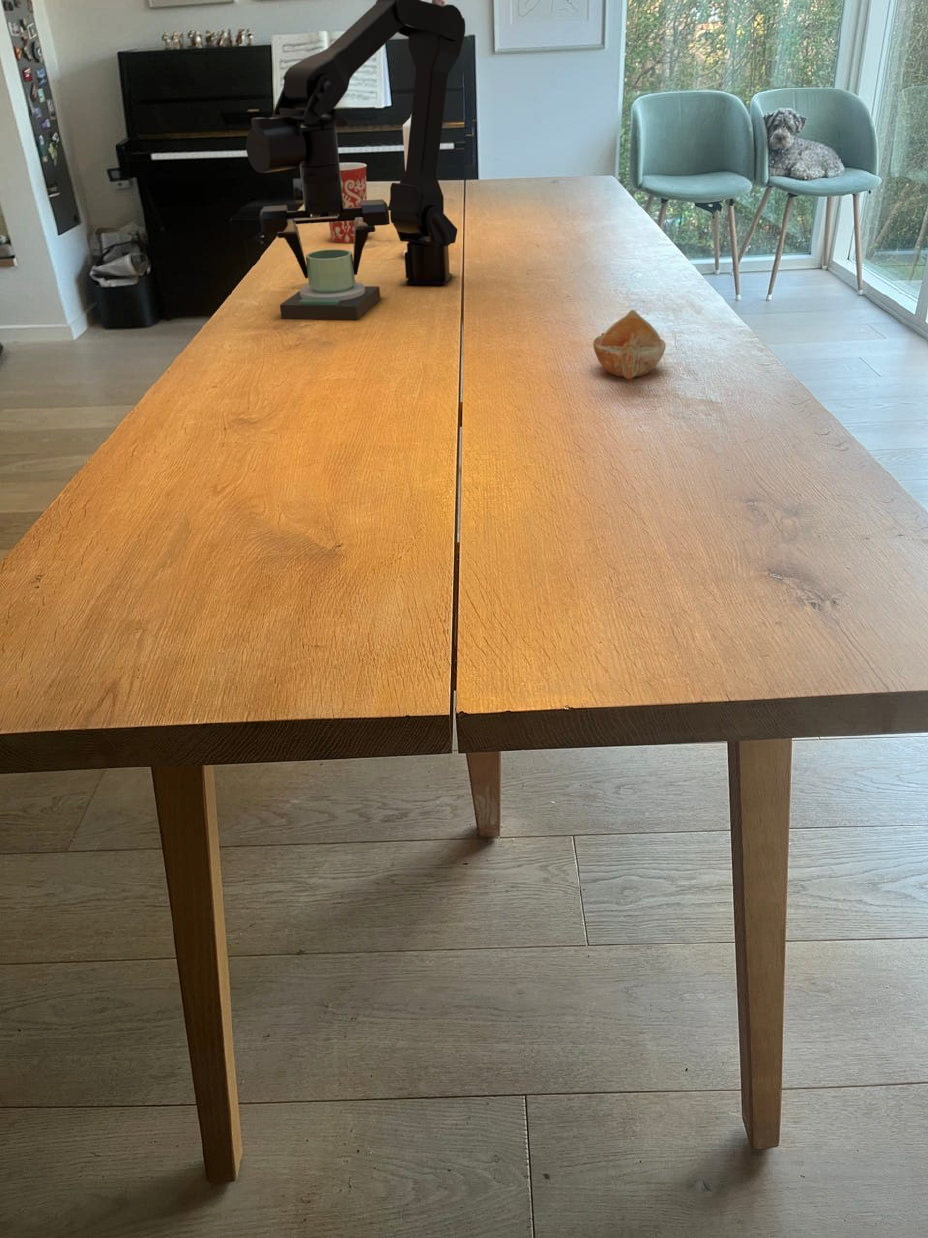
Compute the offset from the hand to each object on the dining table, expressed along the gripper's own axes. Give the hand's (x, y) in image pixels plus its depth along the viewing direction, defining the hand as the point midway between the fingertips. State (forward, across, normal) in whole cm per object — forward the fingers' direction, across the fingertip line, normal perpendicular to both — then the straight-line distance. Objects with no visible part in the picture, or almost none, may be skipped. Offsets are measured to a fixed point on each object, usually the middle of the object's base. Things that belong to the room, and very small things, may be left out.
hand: (331, 275), depth 150 cm
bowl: (+2, 0, 0) cm, 2 cm away
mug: (+5, -5, -54) cm, 54 cm away
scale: (+5, 0, +1) cm, 5 cm away
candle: (+5, -17, -32) cm, 37 cm away
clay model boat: (+5, -35, +41) cm, 54 cm away
